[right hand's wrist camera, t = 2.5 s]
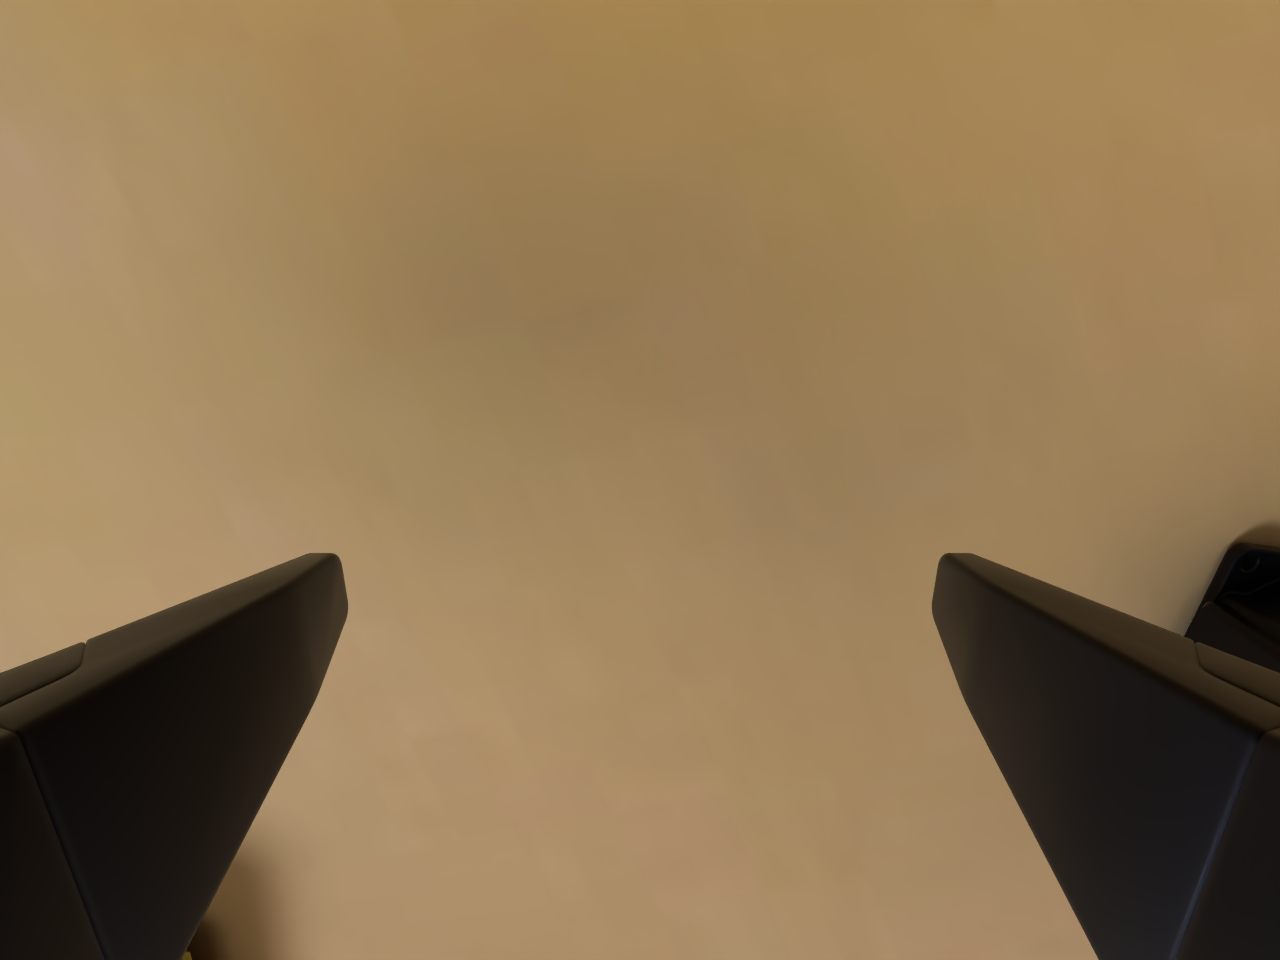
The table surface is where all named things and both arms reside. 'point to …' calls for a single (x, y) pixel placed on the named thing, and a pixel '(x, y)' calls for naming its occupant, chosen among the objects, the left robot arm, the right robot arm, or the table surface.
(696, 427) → the table surface
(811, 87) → the table surface
